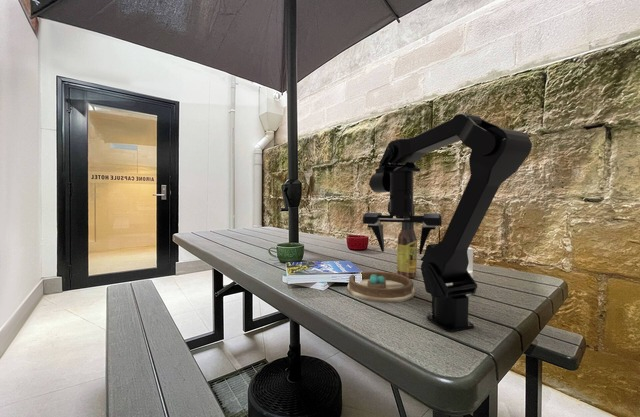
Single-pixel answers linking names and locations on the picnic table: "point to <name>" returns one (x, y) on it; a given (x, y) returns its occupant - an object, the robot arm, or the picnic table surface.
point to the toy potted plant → (376, 281)
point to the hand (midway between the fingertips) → (401, 252)
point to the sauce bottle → (407, 251)
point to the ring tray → (386, 300)
